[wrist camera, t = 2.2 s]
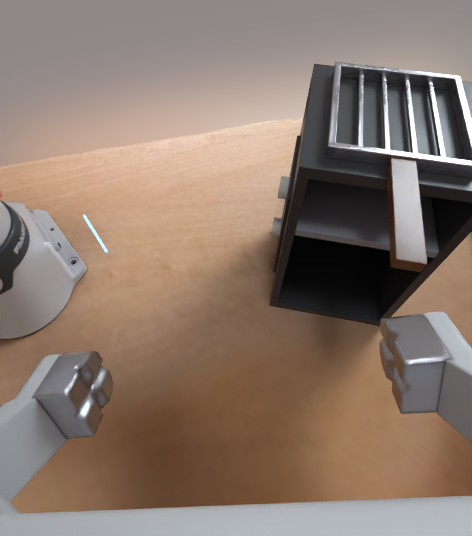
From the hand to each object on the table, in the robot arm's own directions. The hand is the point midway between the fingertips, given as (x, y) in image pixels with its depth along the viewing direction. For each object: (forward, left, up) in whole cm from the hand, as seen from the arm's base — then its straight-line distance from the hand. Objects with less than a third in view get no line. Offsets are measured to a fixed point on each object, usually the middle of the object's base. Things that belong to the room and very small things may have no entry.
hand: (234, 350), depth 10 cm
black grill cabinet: (-15, +25, -36) cm, 46 cm away
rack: (-11, +22, -10) cm, 26 cm away
